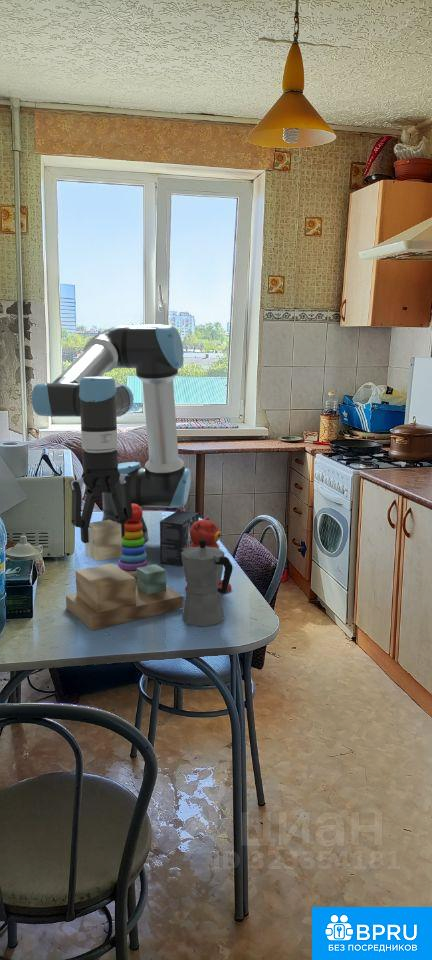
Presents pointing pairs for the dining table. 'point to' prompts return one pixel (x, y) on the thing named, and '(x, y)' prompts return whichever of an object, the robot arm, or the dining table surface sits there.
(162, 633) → the dining table surface
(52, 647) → the dining table surface
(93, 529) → the oak block
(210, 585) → the coffeepot
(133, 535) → the stacking toy
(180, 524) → the small box
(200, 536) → the stacking bear
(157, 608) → the base
